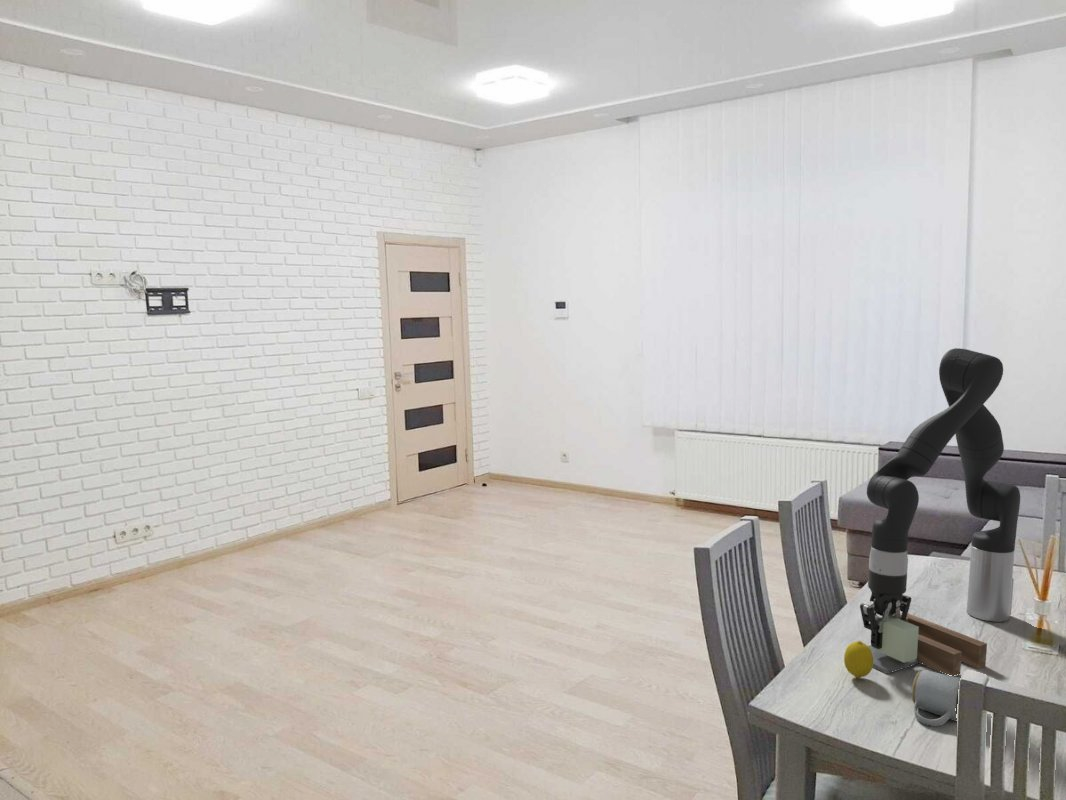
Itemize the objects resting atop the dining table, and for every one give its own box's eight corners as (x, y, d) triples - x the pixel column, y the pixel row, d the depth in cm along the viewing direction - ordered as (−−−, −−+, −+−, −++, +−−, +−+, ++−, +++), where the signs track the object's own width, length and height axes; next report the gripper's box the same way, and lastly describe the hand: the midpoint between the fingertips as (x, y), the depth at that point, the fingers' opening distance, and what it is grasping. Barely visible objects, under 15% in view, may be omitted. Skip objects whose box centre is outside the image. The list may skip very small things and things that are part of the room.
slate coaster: (878, 646, 181) (878, 642, 181) (918, 663, 172) (918, 660, 172) (847, 655, 176) (847, 651, 176) (886, 673, 168) (887, 670, 168)
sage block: (884, 644, 176) (885, 613, 175) (916, 658, 169) (918, 626, 168) (871, 648, 174) (873, 617, 173) (904, 662, 167) (906, 630, 166)
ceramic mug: (921, 697, 158) (923, 660, 157) (967, 712, 152) (970, 673, 151) (902, 719, 150) (904, 680, 149) (950, 735, 144) (952, 694, 143)
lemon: (874, 685, 162) (876, 647, 162) (845, 683, 164) (847, 645, 163) (869, 673, 168) (871, 636, 167) (841, 671, 169) (842, 634, 168)
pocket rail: (906, 633, 188) (908, 613, 187) (985, 666, 171) (987, 643, 171) (874, 643, 183) (875, 622, 182) (952, 677, 166) (954, 654, 165)
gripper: (880, 579, 165) (875, 659, 167) (925, 568, 172) (920, 645, 174) (850, 568, 172) (846, 645, 174) (894, 558, 179) (890, 632, 181)
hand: (883, 645), depth 174 cm, fingers closed on sage block, 4 cm apart
